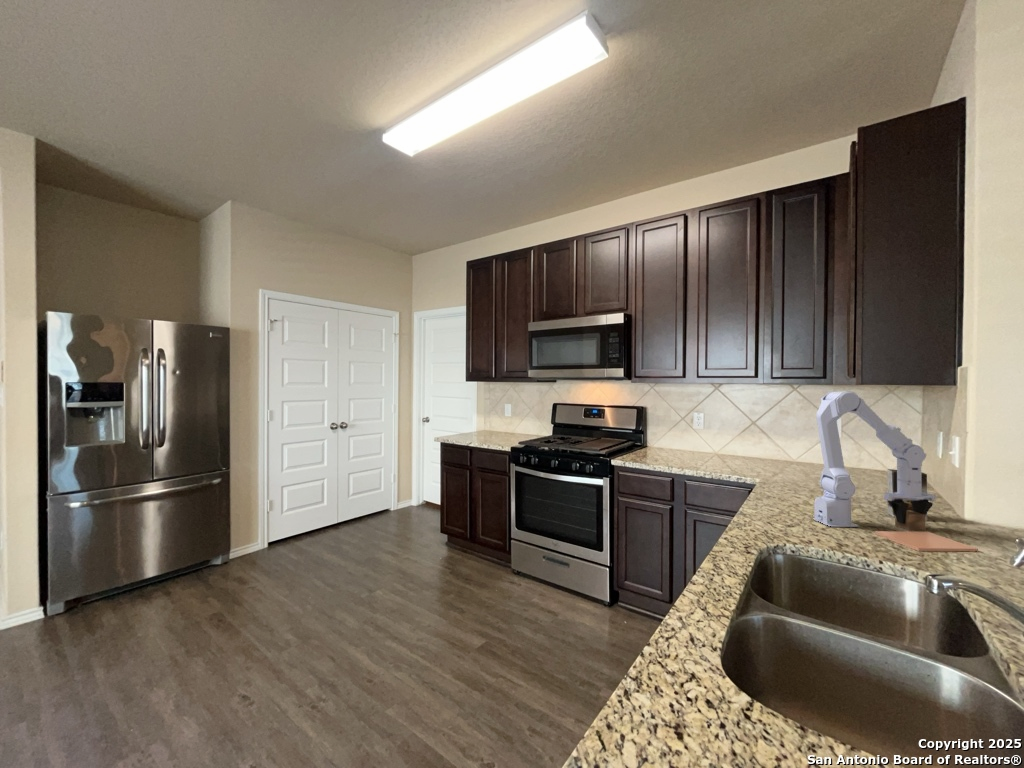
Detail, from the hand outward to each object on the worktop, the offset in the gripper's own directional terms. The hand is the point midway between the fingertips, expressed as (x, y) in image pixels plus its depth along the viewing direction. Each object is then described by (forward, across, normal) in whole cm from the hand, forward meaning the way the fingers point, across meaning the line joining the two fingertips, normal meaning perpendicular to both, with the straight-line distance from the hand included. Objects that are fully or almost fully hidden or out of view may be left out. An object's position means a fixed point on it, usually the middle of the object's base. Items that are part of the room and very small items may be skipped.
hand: (909, 522), depth 134 cm
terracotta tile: (+2, -8, -13) cm, 15 cm away
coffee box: (+2, +10, +12) cm, 16 cm away
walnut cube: (+2, 0, 0) cm, 2 cm away
